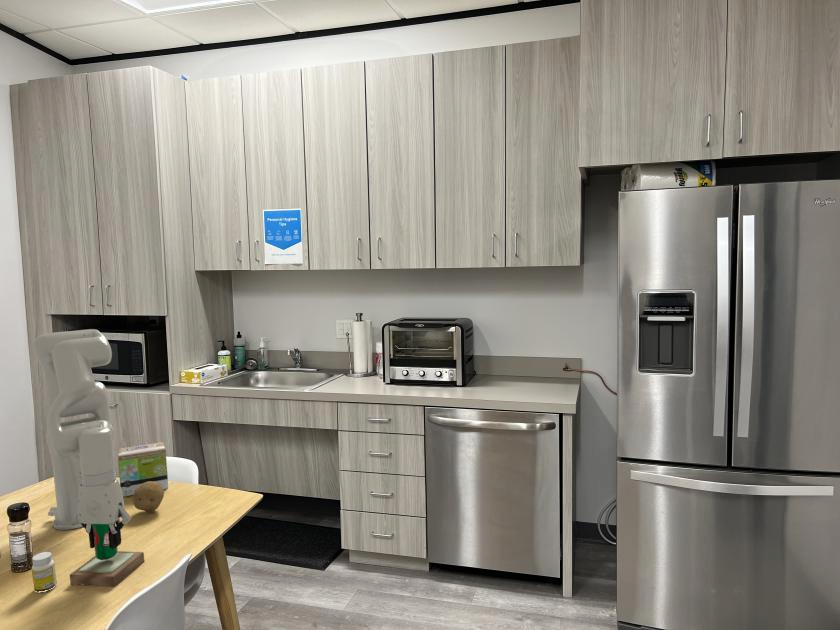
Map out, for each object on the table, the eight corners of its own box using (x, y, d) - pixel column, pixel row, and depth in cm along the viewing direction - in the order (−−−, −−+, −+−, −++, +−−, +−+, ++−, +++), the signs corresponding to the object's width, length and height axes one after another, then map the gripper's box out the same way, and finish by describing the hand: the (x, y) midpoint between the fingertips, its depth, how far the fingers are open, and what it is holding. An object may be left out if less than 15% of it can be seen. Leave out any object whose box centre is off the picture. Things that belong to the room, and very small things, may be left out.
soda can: (108, 561, 149) (104, 515, 148) (91, 560, 150) (86, 514, 149) (122, 551, 154) (118, 507, 153) (105, 550, 155) (100, 506, 154)
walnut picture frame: (70, 584, 148) (69, 573, 147) (103, 560, 159) (101, 549, 159) (115, 586, 146) (113, 574, 146) (144, 561, 158) (143, 550, 157)
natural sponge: (156, 519, 184) (153, 487, 183) (128, 519, 185) (125, 488, 184) (170, 506, 193) (167, 476, 192) (143, 507, 194) (140, 477, 193)
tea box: (121, 498, 202) (117, 456, 200) (120, 489, 211) (116, 448, 209) (169, 489, 208) (165, 447, 207) (166, 480, 217) (163, 440, 216)
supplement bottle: (40, 583, 149) (37, 551, 148) (60, 582, 149) (57, 550, 148) (30, 594, 144) (26, 561, 143) (50, 593, 144) (46, 559, 143)
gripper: (57, 482, 148) (65, 552, 150) (120, 483, 145) (127, 554, 147) (79, 471, 155) (85, 538, 157) (139, 472, 153) (145, 540, 155)
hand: (105, 545), depth 152 cm, fingers closed on soda can, 5 cm apart
